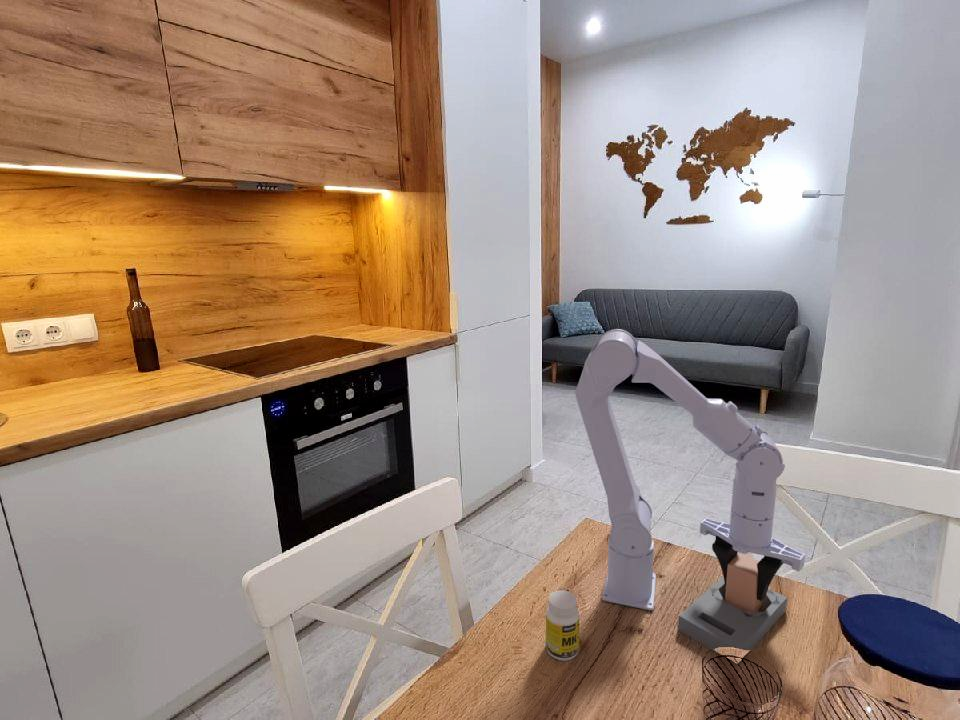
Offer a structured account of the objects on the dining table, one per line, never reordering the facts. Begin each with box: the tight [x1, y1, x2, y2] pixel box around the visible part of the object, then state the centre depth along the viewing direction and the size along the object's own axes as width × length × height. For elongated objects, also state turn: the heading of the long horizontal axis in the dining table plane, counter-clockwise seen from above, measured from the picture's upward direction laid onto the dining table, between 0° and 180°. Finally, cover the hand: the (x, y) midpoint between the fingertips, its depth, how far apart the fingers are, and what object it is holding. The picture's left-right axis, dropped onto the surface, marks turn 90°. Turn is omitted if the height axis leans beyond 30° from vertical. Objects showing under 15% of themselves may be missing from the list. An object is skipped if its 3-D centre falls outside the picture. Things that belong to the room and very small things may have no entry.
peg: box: [724, 552, 764, 612], centre depth 81 cm, size 4×4×7 cm
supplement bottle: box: [545, 589, 580, 662], centre depth 75 cm, size 5×5×8 cm
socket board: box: [677, 576, 788, 651], centre depth 80 cm, size 16×9×2 cm, turn 129°
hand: (745, 589), depth 82 cm, fingers closed on peg, 4 cm apart
